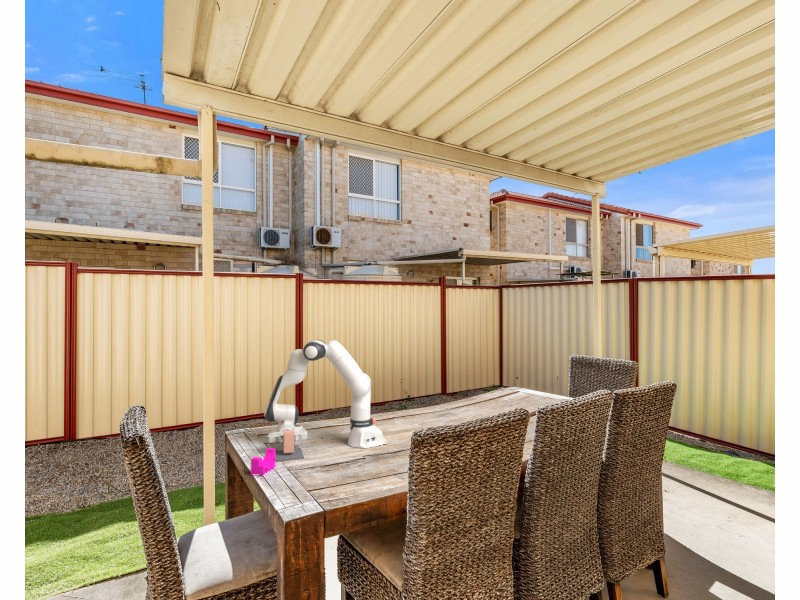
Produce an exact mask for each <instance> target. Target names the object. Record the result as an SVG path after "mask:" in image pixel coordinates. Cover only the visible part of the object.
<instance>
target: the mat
mask: <svg viewBox="0 0 800 600" xmlns="http://www.w3.org/2000/svg"><path fill="white" fill-rule="evenodd" d="M295 460H305V455H304V453H303V451H302V447H297V448H296V447H294V452H291V453H284V451H283V449H279V450H278V449H277V450H276V451H275V461H280V462H285V461H288V462H289V461H295Z"/></svg>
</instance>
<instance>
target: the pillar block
mask: <svg viewBox="0 0 800 600" xmlns="http://www.w3.org/2000/svg"><path fill="white" fill-rule="evenodd" d="M283 439H284V443H282V446H283V448H282V450H283V451H284V453H291V452H294V449H295V442H294V430H286V431H284V435H283Z"/></svg>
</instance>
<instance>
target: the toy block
mask: <svg viewBox="0 0 800 600" xmlns="http://www.w3.org/2000/svg"><path fill="white" fill-rule="evenodd" d="M275 451H277V450H276V448H274V447H267V448H266V450H265V453H264V454H265V455H264V457H261V456H252V458H251V460H250V461H251V462H250V476H254V475H253V474H259V475H264V474H265V473H267V472H268V471H270V470H271V469H272V470H274V469H275V468H276V462H275ZM274 467H275V468H274ZM273 468H274V469H273ZM272 470H271V471H272ZM271 471H270V472H271ZM267 474H268V473H267Z"/></svg>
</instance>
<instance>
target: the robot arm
mask: <svg viewBox="0 0 800 600" xmlns="http://www.w3.org/2000/svg"><path fill="white" fill-rule="evenodd" d="M323 358H326V359H327V360H328V361H330V363H331V364H332V366H333V367H334V368H335V369H336V370H337V371H338V373H339V374H340V376H341V377H342V380H344V382H345V384H346V385H347V386H348V388H349V389H350V391H351V401H350V418H349V434H348V435H349V436H348V441H347V445H348V446H350V447H353V448H359V449H364V448H365V449H369V448H374V447H379V445H381V446H384V445H383V444H386V443H387V444H388V440H387V439H386V438H385V437H384V435H383V434H384V433H383V432H382V431H383V430H381V429H380V428H379V427H378V426H376V425H375V424H376V422H377V421H376V420H375V419H374V418H372V417H371V398H372V396H371V395H372V392H371V391H372V380H371V377H370V376H369V375H368V374H367V373H365V372H363V371H362V368H360V367H359V364H358V363H357V362H356V360H355V359H354V358H353V357H352V355H351V354H350V353H349V351H348V350H347V349H346V348H345V347H344V346H343V345H342V344H341V343H340V342H339V341H338V340H335V339H332V340H330V341H328V342H327V343H326V342H325V341H324V340H322V339H314V340H310V341H309V342H307V343H306V344H305V345H304V346H303V348H302V349H300V348H298V349H294V350H293V351H292V352H291V353H290V356H289V359H288V363H287V366H286V370H285V372H284V374H282V375H279V377H278V378H277V381H276V383H275V385H274V388H273V390H272V393H271V395H270V398H269V401H268V403H267V405H266V407H265V409H264V411H263V412H264V413H263V416H264V419H265V420H266V421H268V422H273V423H274V422H278V423H277V427H276V430H277V431H273V432H269V433H268V434H267V435H266V438H267V443H268V444H276V443H280V444H283V443H284V439H283V435H284V431H286V430H294V443H297V442H298V441H304V440H307V439H308V431H307V430H306V429H305V428H304V427H303V425H297V423H298V421H299V414H300V413H299V409H298V407H297V406H296V405H295V404H289V403H288V404H285V403H277V402H278V400H279V398H280V395H281V392H282V390H283V389H285V388H287V387H288V388H289V387H291V386H296V385H298V384H300V383H301V382H302V381H304V380H305V378H306V374H307V371H308V365H309V362H310V361H311V362H315V361H318V360H320V359H323ZM387 444H386V445H387Z"/></svg>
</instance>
